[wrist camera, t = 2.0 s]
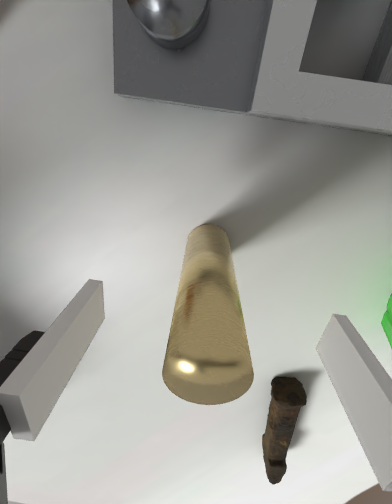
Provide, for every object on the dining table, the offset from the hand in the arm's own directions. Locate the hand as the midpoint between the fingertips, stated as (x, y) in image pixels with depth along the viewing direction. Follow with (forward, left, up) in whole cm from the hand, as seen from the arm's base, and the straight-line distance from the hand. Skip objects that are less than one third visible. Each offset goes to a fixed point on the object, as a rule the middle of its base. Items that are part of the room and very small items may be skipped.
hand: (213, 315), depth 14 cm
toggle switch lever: (0, 0, -10) cm, 10 cm away
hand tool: (+14, -26, -11) cm, 31 cm away
